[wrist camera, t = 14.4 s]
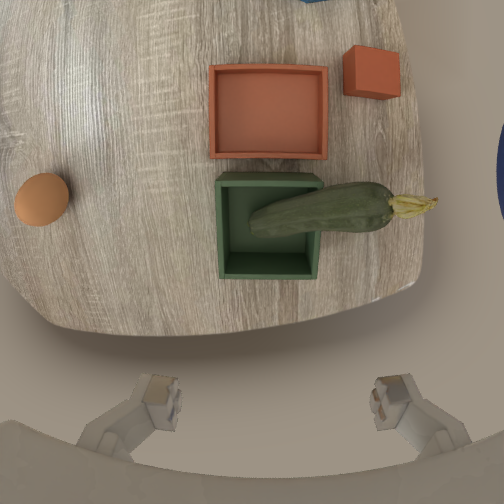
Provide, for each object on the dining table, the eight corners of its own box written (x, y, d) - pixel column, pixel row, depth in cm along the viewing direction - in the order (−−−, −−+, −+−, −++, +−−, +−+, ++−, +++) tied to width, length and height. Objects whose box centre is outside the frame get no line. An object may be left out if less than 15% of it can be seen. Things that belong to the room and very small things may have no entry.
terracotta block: (382, 61, 28) (399, 52, 23) (383, 100, 30) (400, 96, 25) (342, 55, 28) (354, 44, 23) (343, 95, 30) (355, 89, 25)
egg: (86, 204, 36) (46, 225, 27) (54, 221, 37) (15, 244, 28) (69, 160, 33) (25, 171, 25) (38, 180, 34) (-4, 195, 26)
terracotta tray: (322, 71, 29) (327, 66, 26) (321, 157, 33) (327, 160, 30) (213, 70, 29) (208, 65, 27) (214, 156, 33) (209, 158, 30)
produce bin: (312, 172, 34) (323, 181, 28) (308, 255, 37) (316, 279, 31) (223, 172, 34) (214, 180, 28) (225, 254, 38) (219, 279, 32)
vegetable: (229, 237, 31) (436, 221, 18) (231, 197, 32) (430, 164, 19) (257, 242, 35) (441, 231, 22) (258, 205, 35) (437, 181, 22)
